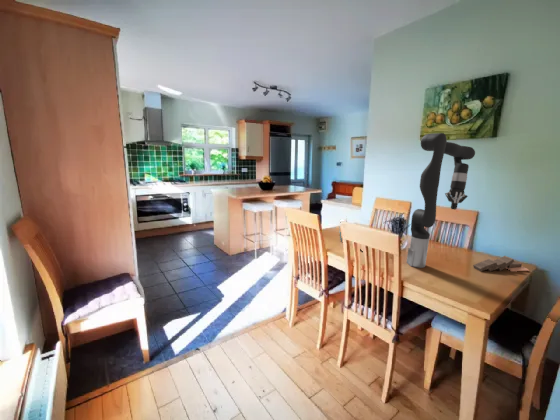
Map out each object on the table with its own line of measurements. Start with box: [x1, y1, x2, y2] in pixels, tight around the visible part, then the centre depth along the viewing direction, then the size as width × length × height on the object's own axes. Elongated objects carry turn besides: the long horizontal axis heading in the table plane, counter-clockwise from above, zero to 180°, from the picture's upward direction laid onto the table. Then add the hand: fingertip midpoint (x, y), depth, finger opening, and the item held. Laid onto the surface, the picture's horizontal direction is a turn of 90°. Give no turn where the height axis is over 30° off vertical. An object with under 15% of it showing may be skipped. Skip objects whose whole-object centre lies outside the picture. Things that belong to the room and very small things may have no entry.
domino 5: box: [504, 265, 530, 272], centre depth 155 cm, size 2×5×10 cm
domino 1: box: [473, 258, 497, 273], centre depth 153 cm, size 2×5×10 cm
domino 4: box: [507, 260, 523, 268], centre depth 156 cm, size 2×5×10 cm
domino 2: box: [485, 258, 506, 272], centre depth 153 cm, size 2×5×10 cm
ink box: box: [339, 215, 348, 233], centre depth 214 cm, size 9×5×15 cm, turn 168°
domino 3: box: [496, 255, 515, 272], centre depth 155 cm, size 2×5×10 cm
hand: (453, 209), depth 162 cm, fingers closed
